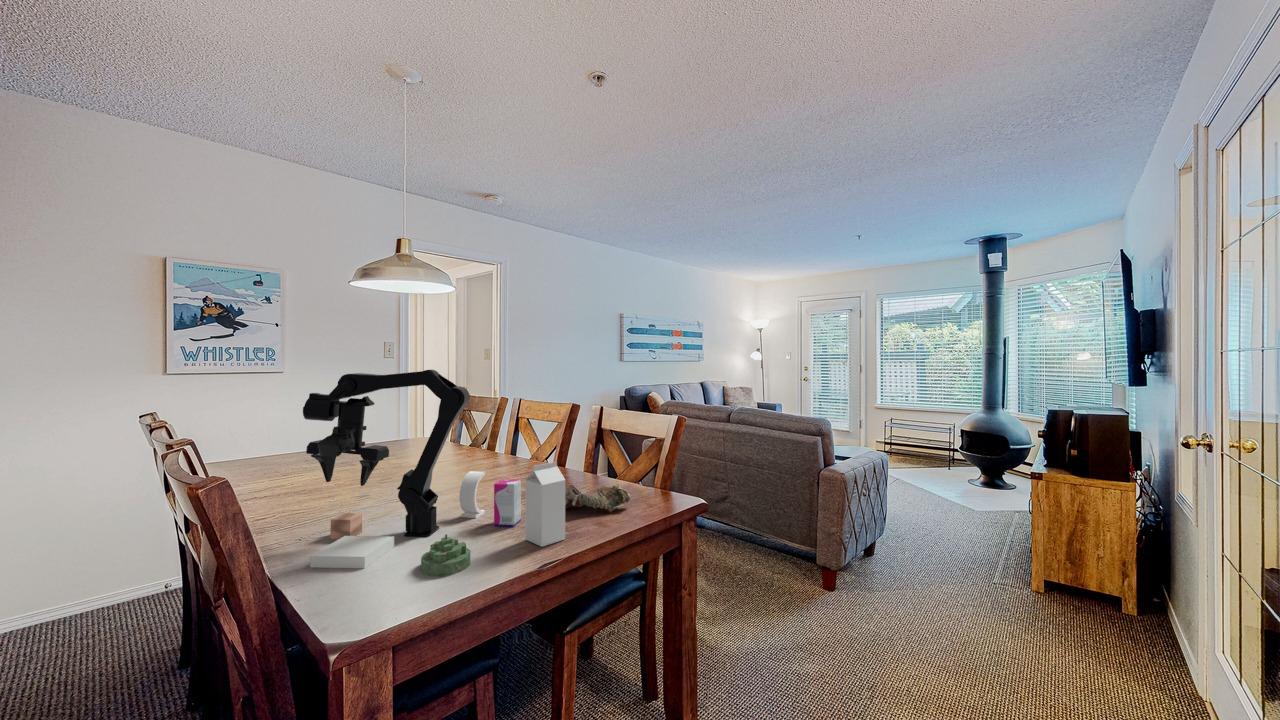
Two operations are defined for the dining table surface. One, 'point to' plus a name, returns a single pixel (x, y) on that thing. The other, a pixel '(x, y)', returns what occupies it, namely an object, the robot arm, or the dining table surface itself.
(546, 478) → the milk carton
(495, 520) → the supplement box
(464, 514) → the headphone stand
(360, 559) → the grey plate
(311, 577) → the dining table surface
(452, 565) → the decorative artifact
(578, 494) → the grey furry oblong lump
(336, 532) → the terracotta cube
